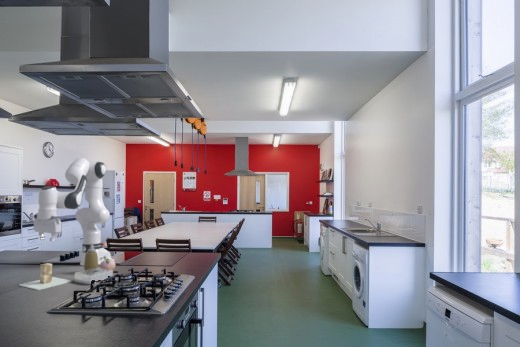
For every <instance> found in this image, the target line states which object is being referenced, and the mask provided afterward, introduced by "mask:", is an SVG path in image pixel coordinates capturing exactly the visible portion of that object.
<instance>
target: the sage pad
mask: <svg viewBox="0 0 520 347" xmlns="http://www.w3.org/2000/svg"><path fill="white" fill-rule="evenodd" d="M72 282H73V281H72V280H70V279H64V278H60V277H55V276H52V282H50V283H46V284H42V283H40V279H38V280H34V281H29V282H24V283H19V284H18V286H19V287H23V288H28V289H31V290H36V291H41V290H44V289H49V288H53V287H56V286H57V287H58V286H60V285H64V284H69V283H72Z"/></svg>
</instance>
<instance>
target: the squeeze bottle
mask: <svg viewBox="0 0 520 347" xmlns="http://www.w3.org/2000/svg"><path fill="white" fill-rule="evenodd" d="M87 252H88V253H86V255H85V263H84V266H83V269H84V270H88V269H93V268H99V265H98V256H97V253H96V249H94V247H93V243H91V244H90V248H89V249H88V250H87Z"/></svg>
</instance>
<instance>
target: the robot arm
mask: <svg viewBox="0 0 520 347" xmlns="http://www.w3.org/2000/svg"><path fill="white" fill-rule="evenodd" d="M106 173H107V166H106V164H105V163H104V162H101V161H91V160H90V161H89V160H88V159H86V158H84V157H78V158H77V159H74V161H73V162H72V163H71V164H70V165H69V166H68V167H67V169H66V170H65V173H64V175H65V176H64V177H65V178H66V180H67V182H68V183H70V184H72V185H75V187H74V190H71V191H58V190H57V187H56V186H53V185H48V186H47V185H46V186H42V187H41V188H40V189H39V192H38V205H39V206H38V207H39V208H38V212H37V213H35V214H33V216H32V217H33V230H34V232H36V233H37V232H38V236H39V240H40V241H45V239H46V237H45V235H44V234H45V233H47V234H50V235H51V237H50V238H49V241H50V242H55V241H56V236H57V234H61V232H62V221H61V219H60V218H59V216H58V209H62V210H63V209H68V210H76V209H77V211H76V212H75V219H76V221H77V222H78V223H79V224H80V226H81V230H82V237H83V238H82V246H81V249H82V255H81V260H80V263H79V265H80V266H83V267H84V263H85V255H86V253H88V252H87V250H88V249H89V248H90V244H91V243H93V247H94V249H96V253H97V256H98V266H100V264H101V262H102V261H103V260H105V259H107V258H108V259H110V260H113V261H114V262H115V259H114V258H112V255H111V252H110V251H109V250H107V249H105V248H104V247H106V242H102V240H101V239H102V232H101V230H100V229H99V228H98V226H97V224H98V225H99V224H103V223H104V224H105V223H107V222H108V221H109V220H110V217H111V213H110V211H109V209H107V207H105V203H104V200H103V188H104V185H103V183H104V182H103V177H105V175H106ZM83 196H84V199H85V201H86V202H88V205H89V207H82V208H81V207H80V206H81V204H82V202H83ZM79 207H80V208H79ZM78 208H79V209H78Z"/></svg>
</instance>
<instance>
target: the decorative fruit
mask: <svg viewBox="0 0 520 347" xmlns="http://www.w3.org/2000/svg"><path fill="white" fill-rule="evenodd" d="M99 268H103V269H109V270H113V271H114V270H115V268H116V262H115V261H113V260H110V259H108V258H107V259H105V260H103V261H102V262H101V264H100V265H99Z"/></svg>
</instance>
